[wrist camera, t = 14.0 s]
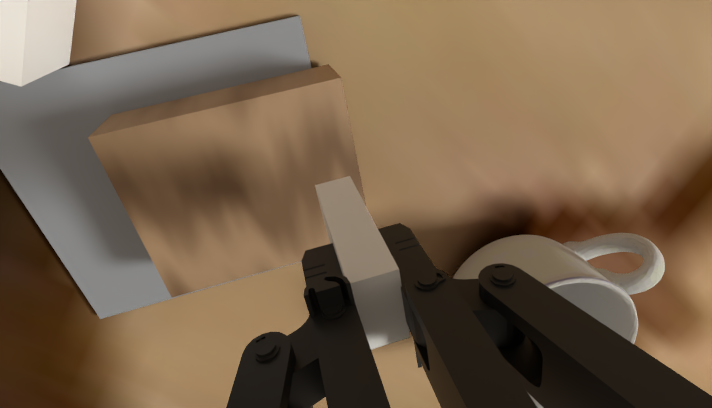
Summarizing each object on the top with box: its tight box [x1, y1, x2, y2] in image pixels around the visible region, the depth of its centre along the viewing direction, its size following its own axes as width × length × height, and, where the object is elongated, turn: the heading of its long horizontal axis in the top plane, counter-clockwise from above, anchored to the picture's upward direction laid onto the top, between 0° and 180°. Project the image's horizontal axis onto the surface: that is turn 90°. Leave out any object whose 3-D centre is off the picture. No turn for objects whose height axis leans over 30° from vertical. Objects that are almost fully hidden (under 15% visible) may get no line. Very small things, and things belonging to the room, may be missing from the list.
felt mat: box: [0, 15, 312, 319], centre depth 23 cm, size 14×16×1 cm
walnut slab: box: [88, 64, 366, 297], centre depth 22 cm, size 9×4×11 cm
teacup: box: [453, 233, 665, 408], centre depth 29 cm, size 14×11×8 cm
